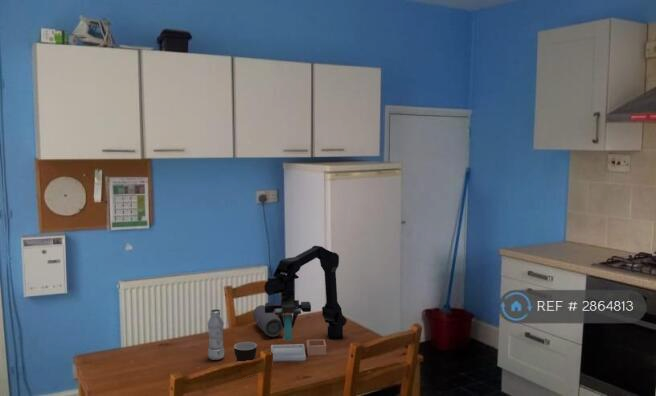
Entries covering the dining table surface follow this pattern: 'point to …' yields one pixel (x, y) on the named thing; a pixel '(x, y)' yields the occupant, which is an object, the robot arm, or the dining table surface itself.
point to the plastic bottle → (215, 336)
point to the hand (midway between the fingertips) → (287, 327)
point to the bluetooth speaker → (267, 321)
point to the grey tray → (288, 352)
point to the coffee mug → (245, 351)
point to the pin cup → (316, 347)
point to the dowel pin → (287, 327)
